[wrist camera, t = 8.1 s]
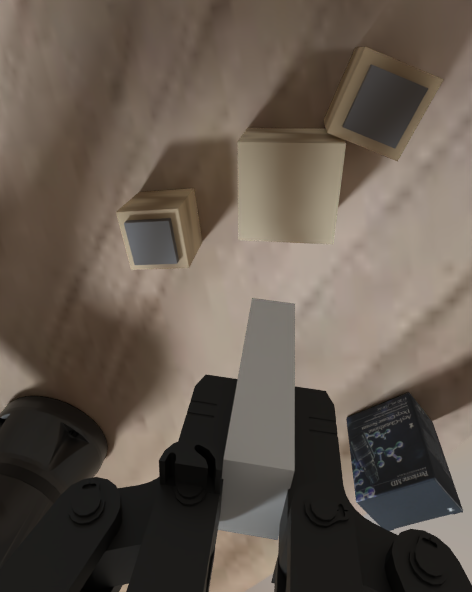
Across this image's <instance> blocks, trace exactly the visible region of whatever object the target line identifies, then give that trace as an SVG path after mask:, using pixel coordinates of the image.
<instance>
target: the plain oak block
mask: <svg viewBox="0 0 472 592" xmlns="http://www.w3.org/2000/svg"><path fill="white" fill-rule="evenodd" d="M345 148H346V142H345V140H344V139H341V138H339V137H336V136H334V135H331V134H329V133H327V131H326V129H315V128H247V129H246V131H245V132H244V134H243V135H242V137H241V138H240V139H239V141H238V240H247V241H269V242H290V243H312V244H333V243H334V235H335V227H336V219H337V211H338V203H339V196H340V188H341V180H342V172H343V164H344V156H345Z"/></svg>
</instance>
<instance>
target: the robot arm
mask: <svg viewBox="0 0 472 592" xmlns="http://www.w3.org/2000/svg"><path fill="white" fill-rule="evenodd" d="M106 454H107V441H106V439H105V436H104V434H103V432H102V431H101V429H100V428H99V427H98V426H97V424H96V423H95V422H94V421H93V420H92V419H90V418H89V417H88V416H87V415H86V414H84V413H83V412H81V411H80V410H78V409H76V408H75V407H73V406H71V405H69V404H66V403H64V402H61V401H58V400H55V399H51V398H46V397H39V396H28V397H22V398H18V399H16V400H14V401H12V402H10V403H9V404H8V405H7V406H6V407H5V409H4V410H3V411H2V412H1V413H0V592H119V591H120V589H121V587H122V585H124V584H128V583H129V585H128V588H127V592H209V586H210V580H211V573H212V567H213V561H214V553H215V544H216V537H217V531H218V530H222V531H228V532H234V533H240V534H246V535H251V536H257V537H263V538H269V539H274V540H278V536H279V553H278V558H277V562H276V566H275V570H274V574H273V578H272V583H275V589H274V592H472V585H471V583H470V581H469V579H468V577H467V575H466V574H465V572H464V570H463V568H462V566H461V564H460V562H459V561H458V559H457V558H456V556H455V555H454V554H453V552H452V551H451V549H450V548H449V547H448V546H447V545H446V544H444V543H443V542H442V541H441V540H440V539H438V538H437V537H436V536H434V535H431V534H430V533H427V532H425V531H423V530H414V529H410V530H406V531H403V532H401V533H400V534H399V535H396V534H394V533H392V532H390V531H388V530H386V529H384V528H382V527H380V526H378V525H376V524H374V523H372V522H371V521H369V520H367V519H366V518H364V517H363V516H362V515H361V514H360V513H359V512H357V511H356V510H355V508H354V507H353V506H352V504H351V503H350V502H349V500H348V498H347V496H346V494H345V490H344V486H343V479H342V470H341V461H340V452H339V443H338V437H337V425H336V416H335V408H334V404H333V403H332V401H331V399H330V398H329V396H328V394H327V393H326V391H322V390H315V389H308V388H301V387H295V304H293V303H285V302H278V301H270V300H263V299H255V298H252V302H251V308H250V313H249V319H248V325H247V330H246V336H245V341H244V347H243V353H242V358H241V364H240V369H239V375H238V379H232V378H225V377H219V376H212V375H205V376H204V377H203V378H202V379H201V380H200V381H199V382H198V384H197V385H196V386H195V388H194V392H193V395H192V398H191V403H190V405H189V408H188V411H187V415H186V418H185V421H184V424H183V428H182V431H181V434H180V438H179V441H178V442H176V443H174V444H172V445H171V446H170V447H169V448H167V449H166V450H165V451H164V453H163V455H162V456H161V458H160V460H159V472H160V477H158V478H157V479H155V480H153V481H151V482H149V483H145V484H142V485H137V486H131V487H124V488H118V489H117V487H116V485H114V484H113V483H112V482H110V481H109V480H108V479H103V478H98V477H94V476H95V475H96V473H97V472H98V471H99V469H100V467H101V465H102V463H103V461H104V459H105V457H106ZM93 477H94V478H93Z"/></svg>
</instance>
